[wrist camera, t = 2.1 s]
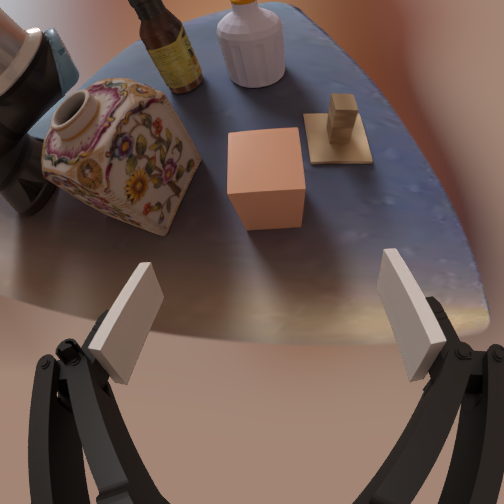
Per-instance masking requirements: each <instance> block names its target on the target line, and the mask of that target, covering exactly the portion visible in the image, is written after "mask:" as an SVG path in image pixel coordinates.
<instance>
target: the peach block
mask: <svg viewBox="0 0 504 504" xmlns="http://www.w3.org/2000/svg"><path fill="white" fill-rule="evenodd" d="M305 190H306V187H305V178H304V170H303V161H302V153H301V146H300V138H299V131H298V127H295V128H277V129H263V130H252V131H242V132H233V133H228V175H227V195H228V197H229V198H230V200H231V202H232V204H233V206H234V208H235V210H236V212H237V214H238V216H239V217H240V219H241V221H242V223H243V225H244V227H245V229H246V230H262V229H280V228H299V227H301V225H302V217H303V208H304V199H305Z"/></svg>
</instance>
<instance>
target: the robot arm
mask: <svg viewBox="0 0 504 504" xmlns="http://www.w3.org/2000/svg"><path fill="white" fill-rule="evenodd" d="M78 79H79V72H78V69H77V67H76V65H75V63H74V62H73V60H72V58H71V56H70V54H69V52H68V51H67V49H66V47H65V45H64V43H63V42H62V40H61V38H60V36H59V34H58V33H57V31H56V30H55V28H50V29H49V30H46V31H45V32H44V33H43V32H42V31H41V30H40V29H38V28H36V27H33V28H29V29H25V30H23V29H22V28H21V27H20V26H19V25H17V23H15V22H14V21H13V20H12V19H11V18H10V17H9V16H8V15H7V14H6V13H5V12H4V11H3V10H2V9H1V8H0V193H1V194H2V195H3V197H4V198H5V199H6V200H7V201H8V202H9V204H10V205H11V206H12V207H13V208H14V209H15V210H16V211H17V212H19V213H21V214H23V215H26V216H30V215H33V214H35V213H36V212H37V211H39V210H40V209H41V208H42V207H43V206H44V204H45V203H46V202H47V201H48V199H49V198H50V196H51V194H52V193H53V191H54V189H55V187H56V185H55V184H53V183H52V182H50V181H49V180H47V179H45V178H44V176H43V173H42V164H41V158H42V149H43V143H44V139H41V138H37V137H33V136H30V135H29V134H28V133H27V132H28V131H29V130H30V129H31V128H32V126H33V125H34V124H35V123H36V122H37V121H38V120H39V119H40V118H41V117H42V116H43V115H44V114H45V113H46V112H47V111H48V110H49V109H50V108H51V107H52V106H53V105H55V104H56V103H57V102H58V101H59V100H60V99H61V98H63V97H64V96H65V94H66V93H67V91H69V90H70V89H71V88H72V87H73V86H74V85H75V84H76V83H77V81H78ZM377 291H378V293H379V296H380V298H381V301H382V303H383V306H384V308H385V311H386V314H387V316H388V319H389V321H390V324H391V327H392V330H393V332H394V335H395V338H396V341H397V344H398V347H399V350H400V353H401V355H402V359H403V362H404V365H405V368H406V372H407V375H408V378H409V381H410V382H412V381H417V380H421V379H424V378H425V376H426V374H427V373H428V372H429V374H430V377H431V379H430V380H429V382H428V383H427V385H426V386H425V387H424V389H423V390H424V393H423V395H422V397H421V399H420V401H419V403H418V405H417V407H416V409H415V411H414V413H413V415H412V417H411V419H410V420H409V422H408V424H407V426H406V428H405V430H404V431H403V433H402V435H401V436H400V438H399V440H398V441H397V443H396V445H395V446H394V448H393V449H392V451H391V452H390V454H389V456H388V457H387V459H386V460H385V462H384V463H383V465H382V466H381V467H380V469H379V470H378V472H377V473H376V475H375V476H374V477H373V478H372V480H371V482H369V484H368V485H367V486H366V488H365V489H364V490H363V491H362V493H361V494H360V495H359V497H358V498H357V499H356V500H355V501H354V502H353V503H352V504H411V502H412V501H413V499H414V498H415V496H416V495H417V493H418V491H419V490H420V488H421V487H422V485H423V483H424V482H425V480H426V478H427V476H428V475H429V473H430V471H431V469H432V467H433V465H434V464H435V462H436V460H437V458H438V456H439V454H440V452H441V450H442V447H443V445H444V443H445V441H446V439H447V437H448V434H449V432H450V430H451V427H452V425H453V423H454V420H455V417H456V415H457V412H458V409H459V407H460V404H461V409H460V417H459V423H458V430H457V435H456V440H455V445H454V450H453V454H452V458H451V462H450V466H449V470H448V474H447V477H446V481H445V484H444V487H443V490H442V493H441V496H440V499H439V502H438V504H496V503H497V499H498V495H499V491H500V487H501V483H502V479H503V473H504V348H503V347H502V346H501V345H498V344H493V345H491V346H490V347H489V349H488V350H487V352H486V351H473V349H472V348H471V347H470V346H469V345H468V344H466V343H465V342H461V341H460V340H459V338H458V336H457V334H456V332H455V330H454V328H453V326H452V324H451V322H450V320H449V319H448V316H447V315H446V313H445V312H444V309H443V307H442V306H441V304H440V303H439V302H438V301H437V300H436V299H435V298H434V297H426V298H425V297H424V295H423V293H422V291H421V289H420V288H419V286H418V284H417V282H416V281H415V279H414V277H413V275H412V274H411V272H410V270H409V269H408V267H407V265H406V264H405V262H404V261H403V259H402V257H401V256H400V254H399V253H398V251H397V249H396V248H393V249H383V256H382V262H381V267H380V273H379V278H378V283H377ZM163 300H164V295H163V293H162V290H161V288H160V285H159V283H158V280H157V277H156V275H155V272H154V269H153V266H152V264H151V262H143V263H139V265H138V266H137V268H136V269H135V271H134V272H133V274H132V276H131V277H130V279H129V280H128V282H127V283H126V285H125V286H124V288H123V289H122V291H121V293H120V294H119V296H118V297H117V299H116V301H115V302H114V304H113V305H112V307H111V309H110V310H106V311H105V312H104V313H103V314H102V315H101V316H100V317H99V318H98V320H97V322H96V323H95V324H96V325H94V327H93V328H92V331H91V332H90V333H89V335H88V337H87V339H86V340H85V342H84V344H83V346H82V347H81V348H80V346H79V345H78V343H77V342H76V341H75V340H74V339H66V340H64V341H62V342H61V343H60V344H59V346H58V347H57V349H56V355H57V356H58V357H59V359H60V360H58V361H56V359H55V358H54V357H53V356H52V355H50V354H48V355H45V356H43V357H42V358H40V360H39V361H38V363H37V366H36V371H35V377H34V384H33V391H32V398H31V407H30V408H31V409H30V419H29V436H28V468H29V485H30V495H31V504H90V500H89V494H88V489H87V483H86V476H85V468H84V460H83V450H82V446H83V449H84V453H85V455H86V459H87V462H88V464H89V467H90V470H91V473H92V475H93V478H94V480H95V482H96V485H97V487H98V490H99V495H98V496H97V497H96V502H97V504H170V503H169V502H168V501H167V500H166V499H165V498H164V497H163V496H162V495H161V494H160V492H159V491H158V489H157V487H156V486H155V484H154V482H153V480H152V479H151V477H150V475H149V473H148V471H147V469H146V468H145V466H144V464H143V462H142V460H141V458H140V456H139V454H138V452H137V450H136V448H135V446H134V443H133V441H132V439H131V437H130V435H129V432H128V430H127V428H126V425H125V423H124V421H123V418H122V416H121V413H120V411H119V408H118V405H117V403H116V400H115V397H114V395H113V392H112V389H111V386H110V384H109V382H108V379H109V376H110V377H111V378H112V379H113V381H114V382H115V383H120V384H125V385H127V384H128V381H129V379H130V376H131V374H132V371H133V369H134V366H135V364H136V361H137V359H138V357H139V354H140V352H141V349H142V347H143V345H144V342H145V340H146V338H147V335H148V333H149V331H150V329H151V326H152V324H153V322H154V320H155V317H156V315H157V313H158V311H159V308H160V306H161V304H162V302H163ZM57 392H58V397H57Z"/></svg>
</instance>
